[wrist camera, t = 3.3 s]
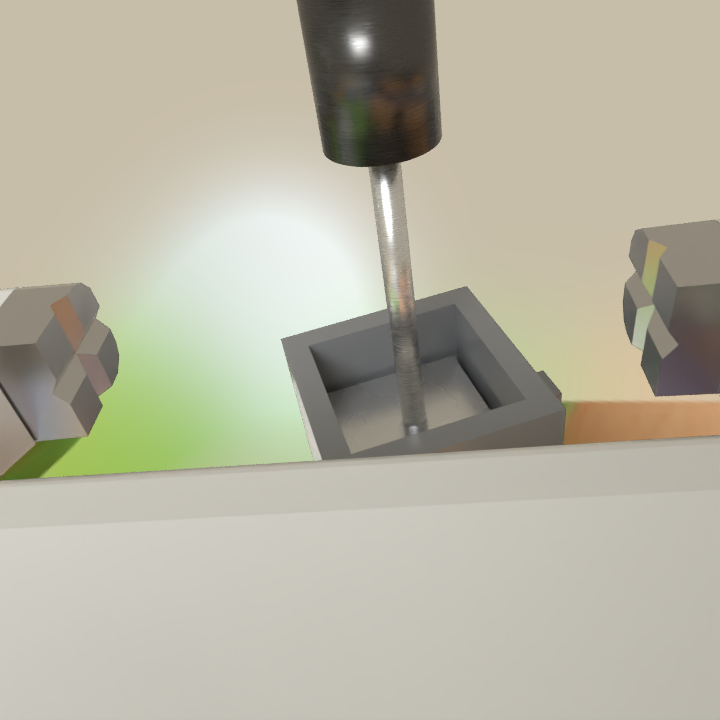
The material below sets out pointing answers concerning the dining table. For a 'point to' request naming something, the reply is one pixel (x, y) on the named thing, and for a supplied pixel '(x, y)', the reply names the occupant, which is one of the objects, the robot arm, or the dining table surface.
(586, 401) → the dining table surface
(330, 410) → the gray open square box
